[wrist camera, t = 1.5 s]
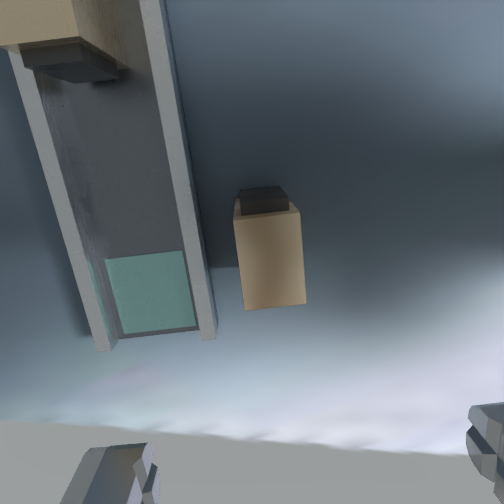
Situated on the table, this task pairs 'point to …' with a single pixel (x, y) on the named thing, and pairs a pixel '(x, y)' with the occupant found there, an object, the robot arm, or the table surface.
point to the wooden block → (269, 249)
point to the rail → (115, 160)
